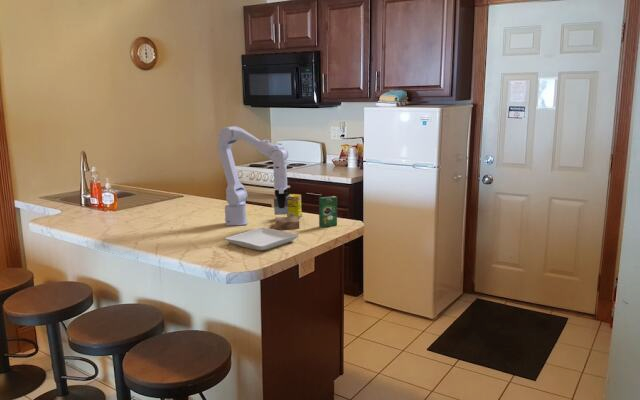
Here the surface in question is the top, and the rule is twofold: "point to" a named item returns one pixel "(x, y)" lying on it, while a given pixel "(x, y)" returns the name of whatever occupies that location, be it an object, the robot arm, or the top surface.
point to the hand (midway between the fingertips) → (281, 206)
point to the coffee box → (327, 211)
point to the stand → (287, 222)
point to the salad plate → (262, 238)
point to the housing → (280, 210)
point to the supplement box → (294, 205)
